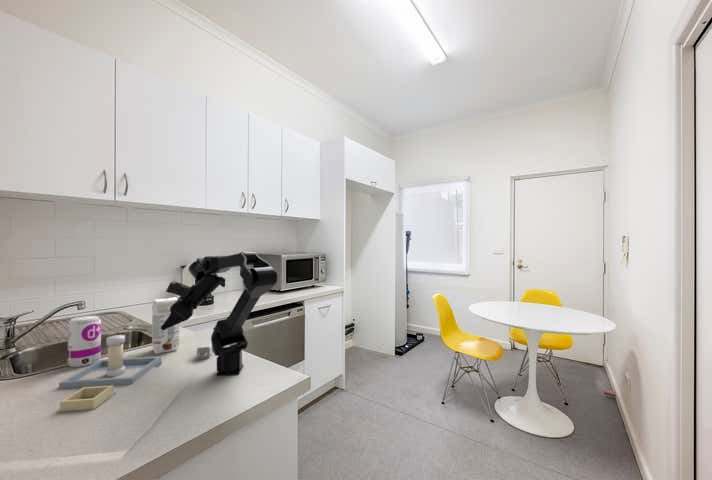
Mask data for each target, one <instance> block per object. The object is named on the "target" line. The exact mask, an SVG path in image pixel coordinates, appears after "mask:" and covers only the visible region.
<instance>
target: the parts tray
mask: <svg viewBox="0 0 712 480" xmlns="http://www.w3.org/2000/svg"><path fill="white" fill-rule="evenodd" d="M123 365H124V366H125V370H131V369H132V370H133V369H140V370H138V371H137V372H136V373H134V374H132V375H131V376H125V377H124V376H122V377H121V376H120V377H108V378H107V377H106V378H92V379H82V378H84V377H85V376H87V375H88V374H90V373H92V372H96V371H97V372H99V371H101V372H102V371H106V369H107V368H108V358H107V359H99V361H98V362H96V363H94V364H91V365H88V366H86V368H84V369H82V370H80V371H77V372H76V373H74V374H72V375H71V376H69V377H67V378H65V379H63V380H62V381H60V382H58V389H59V390H60V389H61V390H62V389H73V388H76V389H77V388H83V387H97V386H112V385H114V386H119V385H133V384H134V383H136V382H137V381H138V380H139V379H141V378H142V377H143V376H145V375H146V374H147V373H149V372H150V371H151V370H153V369H155V368H159V367H160V366H161V365H162V356H147V357H146V356H145V357H130V358H123Z"/></svg>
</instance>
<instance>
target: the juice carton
mask: <svg viewBox="0 0 712 480" xmlns="http://www.w3.org/2000/svg"><path fill="white" fill-rule="evenodd" d="M177 300H178V297H169V298H154V300H153V303H152V308H151V309H152V310H151V315H152V318H151V320H152V321H151V323H152V325H151V328H152V329H151V338H152V339H151V340H152V341H151V342H152V343H151V344H152V345H151V346H152V349H153V351H154V355H159V354H163V353H169V352H175V350H176V351H177V350H178V348H179V345H180V323H178V324H176V325H174V326H172V327H169V328H167V329H165V330H162V329H161V326H162V325H163V324H164V322H165V321H166V320H167V318H168V317H169V316H170V314H171V310H170V307H171V306H172V305H173V304H174V303H175V302H176V301H177Z"/></svg>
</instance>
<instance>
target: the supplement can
mask: <svg viewBox="0 0 712 480" xmlns="http://www.w3.org/2000/svg"><path fill="white" fill-rule="evenodd" d="M101 343H102V320H101V318H100V317H99V315H94V314H93V315H84V316H83V315H82V316H78V317H74V318H71V319H70V321H69V322H68V324H67V365H68V364H69V365H68V366H69V367H71V368H81V367H88V366H91V365H92V364H94V363H96V362H98V361H100V360H102V354H101V353H102V347H101V346H102V345H101Z"/></svg>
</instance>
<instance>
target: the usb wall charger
mask: <svg viewBox="0 0 712 480" xmlns="http://www.w3.org/2000/svg"><path fill="white" fill-rule="evenodd" d="M212 353H213V347H212V342H206V343H201V344H200V345H199V346H198V348H197V349H196V359H198V360H205V359H204V358H207V359H210V358H211V355H212Z"/></svg>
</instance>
